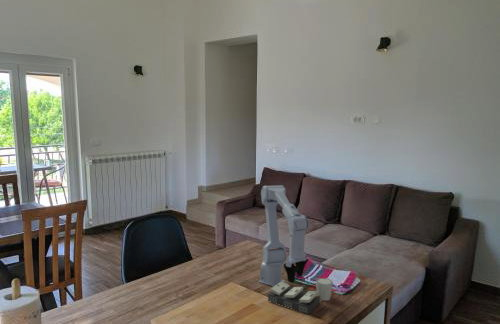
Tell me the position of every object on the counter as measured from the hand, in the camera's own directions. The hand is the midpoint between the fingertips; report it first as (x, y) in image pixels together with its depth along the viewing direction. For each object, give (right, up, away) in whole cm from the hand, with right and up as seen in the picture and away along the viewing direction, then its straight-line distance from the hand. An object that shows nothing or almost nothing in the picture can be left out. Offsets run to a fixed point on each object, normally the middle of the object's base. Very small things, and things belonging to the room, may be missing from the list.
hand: (295, 278), depth 147 cm
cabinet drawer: (+5, -7, -3) cm, 9 cm away
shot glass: (+13, -10, +6) cm, 17 cm away
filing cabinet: (0, -10, +1) cm, 10 cm away
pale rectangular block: (-6, -6, +4) cm, 9 cm away
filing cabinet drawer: (0, -6, +1) cm, 6 cm away
